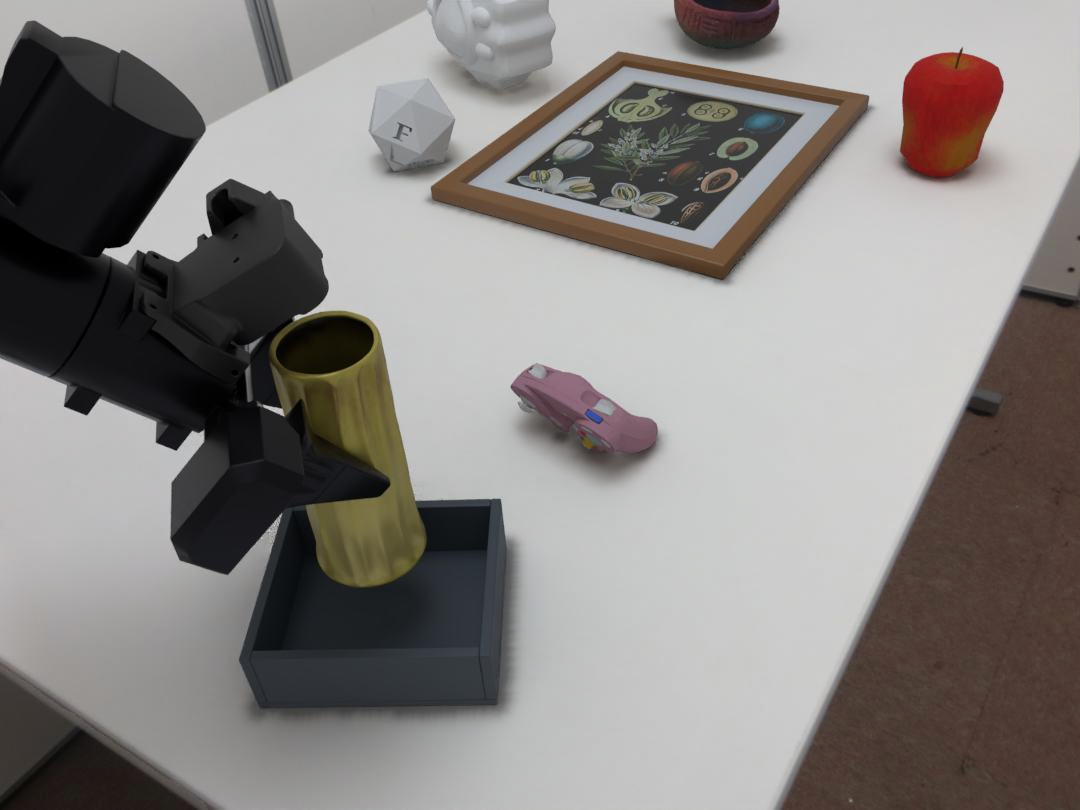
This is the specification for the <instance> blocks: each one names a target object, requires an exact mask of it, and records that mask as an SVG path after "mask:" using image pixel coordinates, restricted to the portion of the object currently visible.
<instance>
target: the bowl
mask: <svg viewBox="0 0 1080 810" xmlns="http://www.w3.org/2000/svg"><path fill="white" fill-rule="evenodd" d="M673 9H674V15H675V19H676V21H677V23H678V26H679V27H680V29H681V31H682V32H683V33H684V34H685V36H686V37H688V38H689V39H690V40H691V41H693V42H694V43H696V44H698V45H701V46H703V47H707V48H712V49H716V50H717V49H718V50H727V51H728V50H729V51H730V50H736V49H740V48H741V49H742V48H746V47H749V46H751V45H755V44H756V43H758V42H761V40H764V39H765V38H766V37H767V36H769V35H770V34H771V33H772V31H773V30H774V28H775V27H776V24H777V22H778V19H779V16H780V9H781V8H780V0H673Z"/></svg>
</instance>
